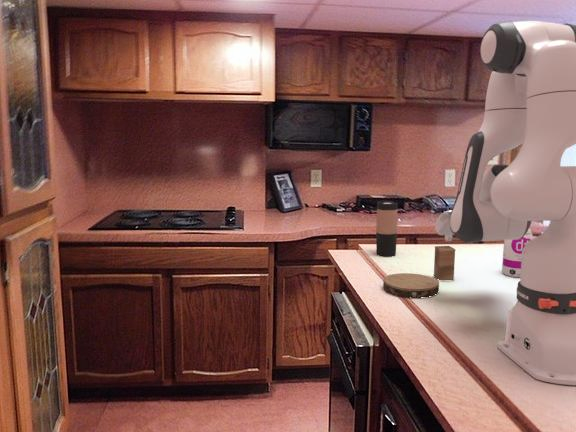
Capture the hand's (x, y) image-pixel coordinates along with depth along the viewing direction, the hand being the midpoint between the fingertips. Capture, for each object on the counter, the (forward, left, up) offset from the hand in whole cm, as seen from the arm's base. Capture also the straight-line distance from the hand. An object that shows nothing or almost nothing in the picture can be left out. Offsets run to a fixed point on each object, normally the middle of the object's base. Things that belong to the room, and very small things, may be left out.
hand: (463, 238), depth 144 cm
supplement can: (+18, -22, -16) cm, 32 cm away
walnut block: (+12, +2, -16) cm, 20 cm away
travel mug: (+42, +17, -16) cm, 48 cm away
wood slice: (0, +14, -16) cm, 22 cm away
